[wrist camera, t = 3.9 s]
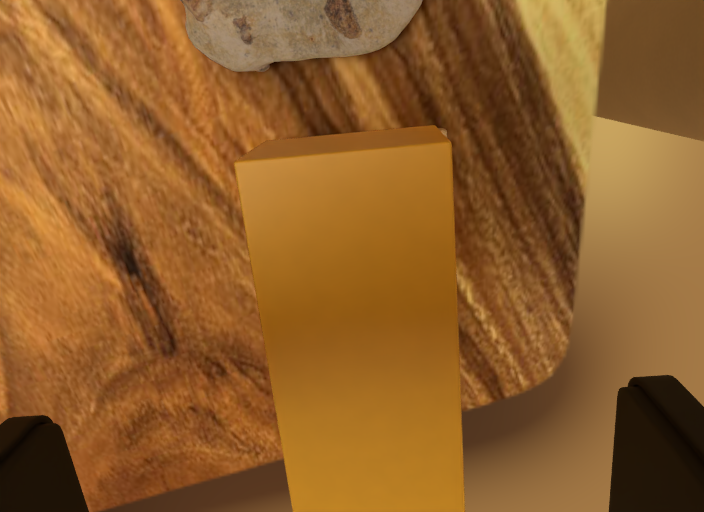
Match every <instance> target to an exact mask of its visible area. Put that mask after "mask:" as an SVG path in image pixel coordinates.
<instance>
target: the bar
mask: <svg viewBox="0 0 704 512" xmlns="http://www.w3.org/2000/svg"><path fill="white" fill-rule="evenodd" d="M234 168H235V174H236V179H237V185H238V191H239V197H240V203H241V209H242V215H243V221H244V227H245V232H246V238H247V244H248V250H249V256H250V262H251V268H252V274H253V280H254V285H255V291H256V297H257V303H258V309H259V315H260V321H261V327H262V333H263V338H264V344H265V350H266V356H267V362H268V368H269V374H270V380H271V386H272V391H273V397H274V403H275V409H276V415H277V421H278V427H279V433H280V439H281V444H282V450H283V456H284V462H285V468H286V474H287V480H288V486H289V492H290V497H291V503H292V509H293V512H465V496H464V470H463V444H462V443H463V441H462V413H461V385H460V358H459V330H458V303H457V275H456V247H455V220H454V192H453V165H452V143H451V142H450V140H449V139H448V138H447V137H446V136H445V135H444V134H443V133H442V132H441V131H440V130H439V129H438V128H437V127H436V126H435V125H428V126H418V127H407V128H397V129H386V130H375V131H365V132H354V133H344V134H333V135H322V136H312V137H301V138H291V139H280V140H269V141H265V142H263V143H262V144H260V145H259V146H257V147H256V148H254V149H253V150H251V151H250V152H248V153H247V154H245V155H244V156H242V157H241V158H239V159H238V160H236V161H235V162H234Z"/></svg>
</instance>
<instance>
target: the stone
mask: <svg viewBox="0 0 704 512" xmlns="http://www.w3.org/2000/svg"><path fill="white" fill-rule="evenodd" d="M181 1H182V3H183V4H184V6H185V11H186V29H187V33H188V37H189V39H190V40H191V42H192V43H193V45H194V46H195V47H196V48H197V49H198V50H200V51H201V52H202V53H203V54H205V55H206V56H207V57H208V58H209V59H211V60H213V61H214V62H216V63H218V64H220V65H222V66H224V67H226V68H228V69H230V70H232V71H258V72H264V71H266V70H268V69H269V68H270V65H269V64H270V63H273V62H280V61H300V60H306V59H311V58H328V57H349V56H354V55H361V54H366V53H370V52H373V51H376V50H379V49H381V48H383V47H385V46H386V45H388V44H389V43H391V42H392V41H394V40H395V39H396V38H397V37H398V35H399V34H400V33H401V31H402V30H403V29H404V28H405V27H406V26H407V25H408V23H409V22H410V21H411V19H412V17H413V16H414V14H415V13H416V12H417V10H418V9H419V7H420V6H421V4H422V1H423V0H181Z"/></svg>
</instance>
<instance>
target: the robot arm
mask: <svg viewBox="0 0 704 512" xmlns="http://www.w3.org/2000/svg"><path fill="white" fill-rule="evenodd" d="M609 503H610V504H609V512H704V407H703V406H702V405H701V404H700V403H699V402H698V401H697V399H696V398H694V396H693V395H692V394H691V393H690V392H689V391H688V390H687V389H686V388H685V387H684V386H683V385H682V384H681V383H680V382H679V381H678V380H677V379H676V378H674V377H673V376H670V375H662V376H646V377H633V378H632V379H631V380H630V381H629V383H628V387H622V388H620V389H619V391H618V396H617V410H616V422H615V435H614V449H613V462H612V476H611V489H610V502H609ZM0 512H89V511H88V508H87V505H86V502H85V499H84V495H83V492H82V489H81V486H80V483H79V480H78V477H77V474H76V471H75V468H74V465H73V462H72V459H71V456H70V453H69V450H68V447H67V443H66V440H65V437H64V434H63V431H62V429H61V427H60V426H59V425H58V424H55V423H53V421H52V420H51V419H50V418H49V417H48V416H44V415H40V416H24V417H12V418H8V419H7V420H5V421H4V422H3V423H2V424H1V425H0Z"/></svg>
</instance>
